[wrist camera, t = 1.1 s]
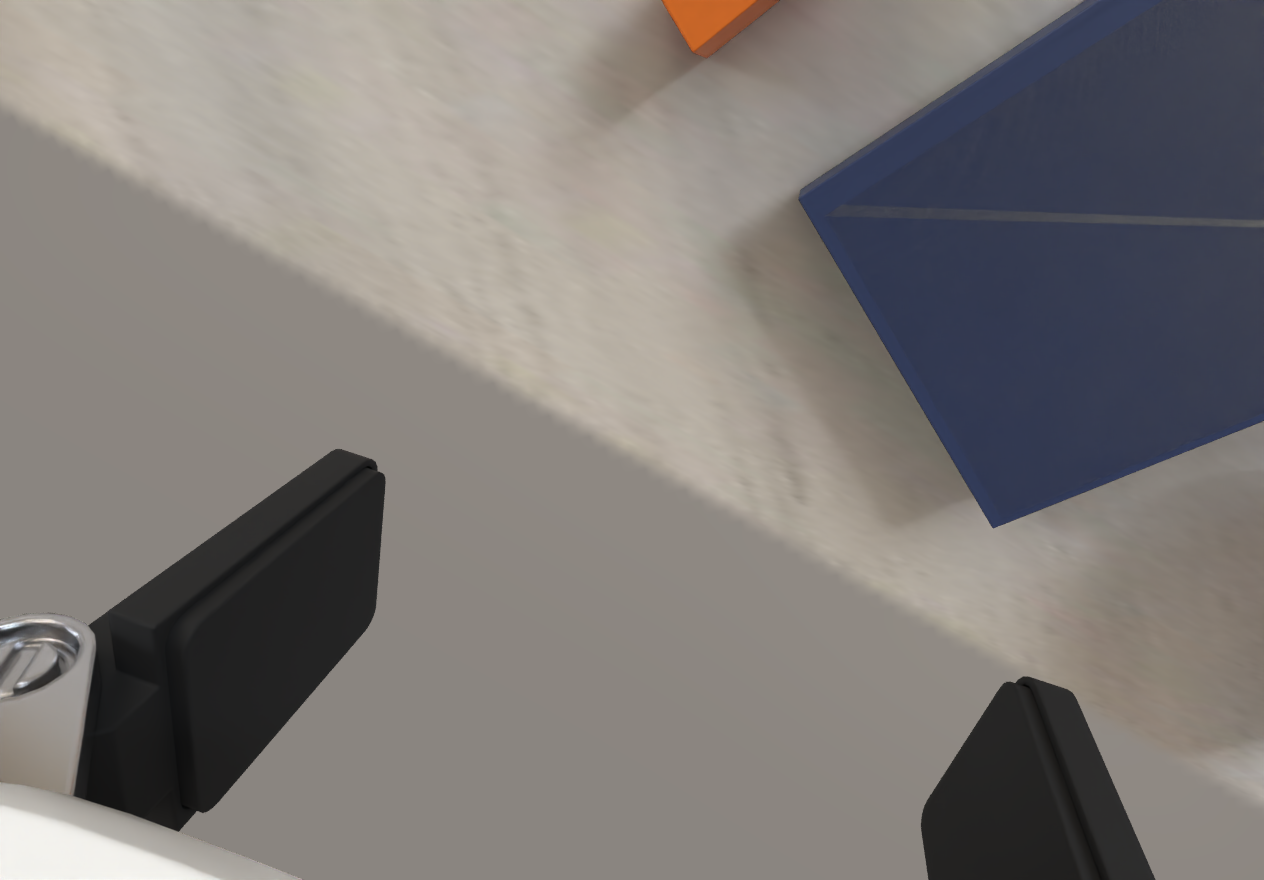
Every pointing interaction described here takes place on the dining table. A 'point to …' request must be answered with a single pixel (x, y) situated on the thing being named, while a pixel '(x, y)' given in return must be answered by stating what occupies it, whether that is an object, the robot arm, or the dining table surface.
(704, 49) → the long orange block
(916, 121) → the book
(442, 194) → the dining table surface
